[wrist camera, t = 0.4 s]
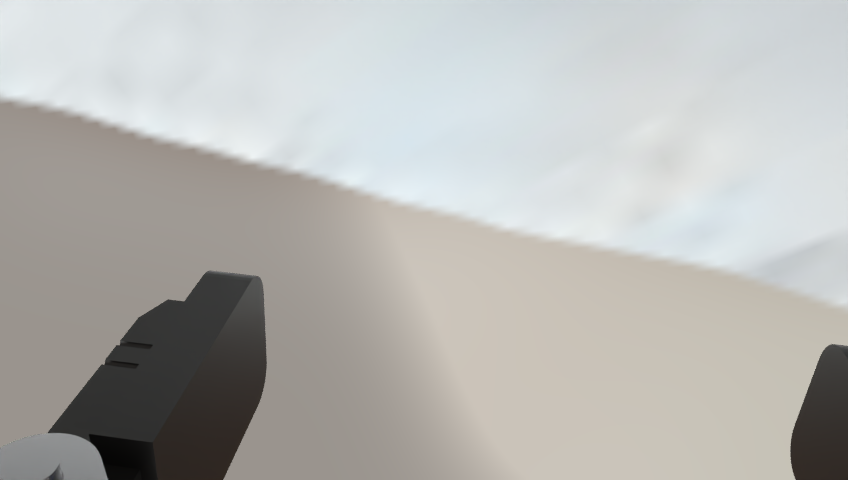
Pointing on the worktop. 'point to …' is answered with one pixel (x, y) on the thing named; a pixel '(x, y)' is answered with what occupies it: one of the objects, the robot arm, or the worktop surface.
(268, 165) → the worktop surface
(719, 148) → the worktop surface
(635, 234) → the worktop surface
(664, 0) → the worktop surface
